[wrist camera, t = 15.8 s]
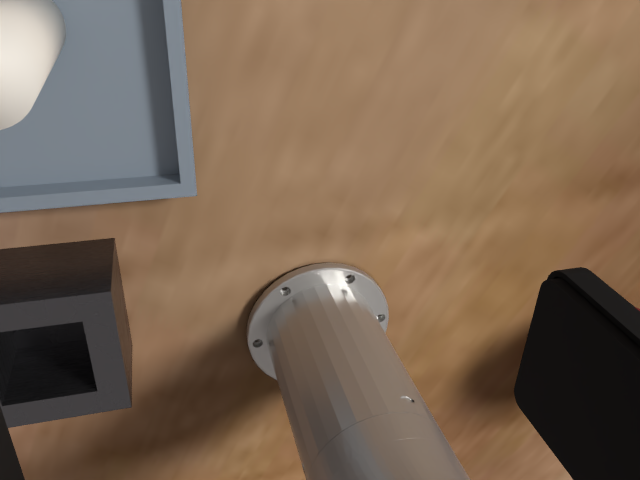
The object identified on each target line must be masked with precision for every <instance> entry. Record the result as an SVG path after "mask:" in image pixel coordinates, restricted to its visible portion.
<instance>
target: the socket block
mask: <svg viewBox="0 0 640 480" xmlns="http://www.w3.org/2000/svg"><path fill="white" fill-rule="evenodd" d="M0 407H1V410H2V413H3V416H4V419H5V422H6V425H7V428H10V427H16V426H22V425H28V424H34V423H40V422H46V421H52V420H58V419H64V418H70V417H76V416H82V415H88V414H94V413H100V412H106V411H112V410H118V409H124V408H130V407H132V340H131V334H130V328H129V322H128V316H127V310H126V304H125V298H124V292H123V286H122V280H121V274H120V268H119V262H118V256H117V250H116V244H115V238H111V239H101V240H91V241H81V242H70V243H60V244H50V245H40V246H30V247H20V248H10V249H0Z"/></svg>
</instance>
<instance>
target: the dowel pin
mask: <svg viewBox="0 0 640 480" xmlns="http://www.w3.org/2000/svg"><path fill="white" fill-rule="evenodd" d="M65 39H66V25H65V21H64V18H63V16H62V13H61V12H60V10H59V8H58V7H57V5H56V4H55V3H54V2H53V1H52V0H0V130H2V129H6V128H9V127H11V126H13V125H15V124H17V123H18V122H20V121H21V120H22V119H23V118H24V117H25V116H26V115H27V114H28V113H29V111H30V110H31V108H32V107H33V105H34V103H35V101H36V99H37V97H38V95H39V93H40V91H41V89H42V87H43V85H44V83H45V81H46V79H47V77H48V75H49V73H50V71H51V69H52V67H53V65H54V63H55V61H56V59H57V58H58V56H59V54H60V52H61V50H62V48H63V46H64V43H65Z"/></svg>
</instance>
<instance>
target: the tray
mask: <svg viewBox="0 0 640 480" xmlns="http://www.w3.org/2000/svg"><path fill="white" fill-rule="evenodd" d="M52 1H53V2H54V3H55V4H56V5H57V7H58V8H59V10H60V12H61V13H62V16H63V18H64V21H65V25H66V39H65V43H64V46H63V48H62V50H61V52H60V54H59V56H58V58H57V59H56V61H55V63H54V65H53V67H52V69H51V71H50V73H49V75H48V77H47V79H46V81H45V83H44V85H43V87H42V89H41V91H40V93H39V95H38V97H37V99H36V101H35V103H34V105H33V107H32V108H31V110H30V111H29V113H28V114H27V115H26V116H25V117H24V118H23V119H22V120H21V121H20V122H18V123H17V124H15V125H13V126H11V127H9V128H6V129H2V130H0V213H3V212H14V211H26V210H38V209H49V208H61V207H73V206H84V205H96V204H108V203H120V202H131V201H143V200H155V199H166V198H178V197H190V196H197V190H196V178H195V166H194V154H193V142H192V130H191V118H190V106H189V94H188V82H187V70H186V58H185V46H184V33H183V21H182V9H181V0H52Z"/></svg>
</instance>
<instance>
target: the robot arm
mask: <svg viewBox="0 0 640 480" xmlns="http://www.w3.org/2000/svg"><path fill="white" fill-rule="evenodd" d="M388 319H389V313H388V305H387V301H386V298H385V296H384V294H383V292H382V290H381V289H380V287H379V286H378V284H377V283H376V282H375V280H374V279H373V278H371V277H370V276H369V275H368V274H367V273H365V272H364V271H362V270H360V269H358V268H356V267H353V266H349V265H346V264H341V263H319V264H313V265H309V266H305V267H301V268H299V269H297V270H294V271H292V272H290V273H288V274H286V275H284V276H283V277H281V278H280V279H278V280H277V281H275V282H274V283H273V284H272V285H271V286H269V287H268V288H267V289H266V290H265V291H264V292H263V294H262V295H261V296H260V297H259V299H258V300H257V301H256V303H255V305H254V307H253V309H252V311H251V313H250V316H249V319H248V323H247V341H248V346H249V350H250V353H251V356H252V358H253V360H254V361H255V363H256V364H257V366H258V367H259V368H260V369H261V370H262V371H263V372H264V373H265V374H267V375H269V376H270V377H272V378H274V379H275V380H277V381H278V384H279V388H280V391H281V395H282V398H283V401H284V405H285V408H286V412H287V415H288V419H289V422H290V425H291V429H292V432H293V436H294V439H295V443H296V446H297V449H298V453H299V456H300V460H301V463H302V467H303V470H304V474H305V477H306V480H470V478H469V477H468V475H467V473H466V472H465V470H464V468H463V467H462V465H461V463H460V462H459V460H458V458H457V457H456V455H455V453H454V452H453V450H452V448H451V446H450V445H449V443H448V441H447V439H446V438H445V436H444V434H443V433H442V431H441V429H440V428H439V426H438V425H437V423H436V421H435V419H434V418H433V416H432V414H431V412H430V411H429V409H428V407H427V405H426V404H425V402H424V400H423V398H422V397H421V395H420V393H419V391H418V390H417V388H416V386H415V384H414V383H413V381H412V379H411V377H410V376H409V374H408V372H407V370H406V369H405V367H404V365H403V363H402V362H401V360H400V358H399V356H398V355H397V353H396V351H395V349H394V348H393V346H392V344H391V343H390V341H389V339H388V337H387V336H386V334H385V332H386V330H387V325H388ZM514 395H515V399H516V402H517V404H518V406H519V408H520V409H521V410H522V412H523V413H524V414H525V416H526V417H527V418H528V420H529V421H530V422H531V424H532V425H533V426H534V428H535V429H536V430H537V432H538V433H539V434H540V436H541V437H542V438H543V440H544V441H545V442H546V444H547V445H548V446H549V448H550V449H551V450H552V452H553V453H554V454H555V456H556V457H557V458H558V460H559V461H560V462H561V464H562V465H563V466H564V468H565V469H566V470H567V471H568V473H569V474H570V475H571V477H572V478H573V479H574V480H640V311H639V310H638V309H636V308H635V307H634V306H633V305H632V304H630V303H629V302H628V301H627V300H625V299H624V298H623V297H622V296H621V295H619V294H618V293H617V292H616V291H614V290H613V289H612V288H611V287H610V286H608V285H607V284H606V283H605V282H603V281H602V280H601V279H600V278H599V277H597V276H596V275H595V274H594V273H592V272H591V271H590V270H588V269H586V268H582V267H580V268H572V269H565V270H557V271H554V272H552V273H551V274H550V275H549V276H548V278H547V280H545V281H544V282H543V283H542V285H541V287H540V291H539V294H538V298H537V302H536V306H535V310H534V314H533V318H532V321H531V325H530V329H529V333H528V337H527V341H526V345H525V348H524V352H523V356H522V360H521V364H520V368H519V372H518V375H517V379H516V383H515V388H514ZM0 480H25V479H24V476H23V473H22V470H21V467H20V464H19V461H18V458H17V455H16V452H15V449H14V446H13V443H12V440H11V437H10V434H9V431H8V428H7V425H6V422H5V419H4V416H3V413H2V410H1V407H0Z"/></svg>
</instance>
